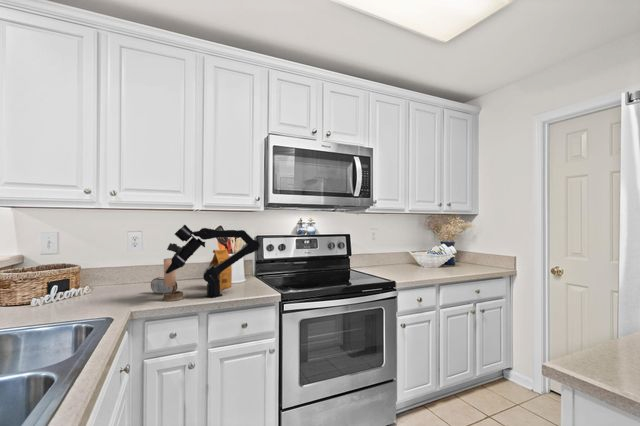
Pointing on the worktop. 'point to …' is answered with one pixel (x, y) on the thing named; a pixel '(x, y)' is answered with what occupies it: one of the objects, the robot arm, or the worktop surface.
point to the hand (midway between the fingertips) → (166, 272)
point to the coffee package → (226, 274)
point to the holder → (173, 296)
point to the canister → (170, 277)
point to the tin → (161, 286)
